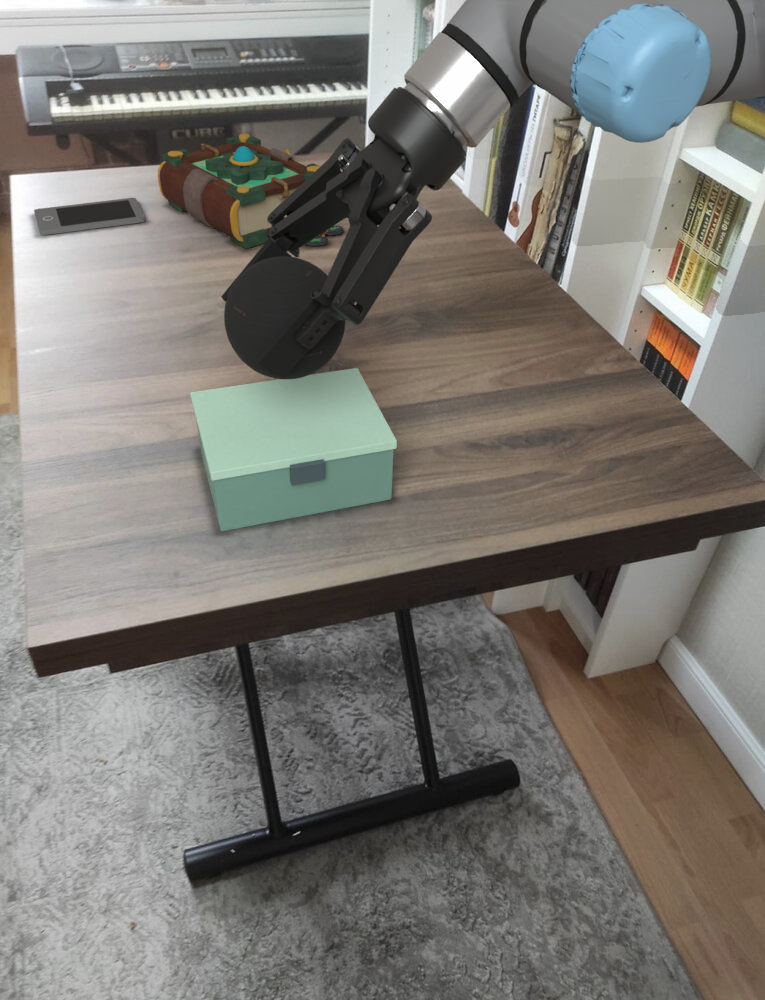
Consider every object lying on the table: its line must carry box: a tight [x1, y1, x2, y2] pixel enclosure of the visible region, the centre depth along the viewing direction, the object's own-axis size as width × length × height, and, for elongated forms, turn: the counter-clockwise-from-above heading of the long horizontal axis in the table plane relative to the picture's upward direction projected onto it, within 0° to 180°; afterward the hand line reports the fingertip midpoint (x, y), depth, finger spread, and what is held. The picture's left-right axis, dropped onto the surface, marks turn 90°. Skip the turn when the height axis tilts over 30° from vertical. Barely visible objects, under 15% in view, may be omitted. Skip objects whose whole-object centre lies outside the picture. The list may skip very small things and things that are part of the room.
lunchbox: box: [189, 367, 398, 532], centre depth 78 cm, size 16×13×7 cm
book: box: [157, 133, 344, 249], centre depth 123 cm, size 27×21×10 cm
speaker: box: [223, 256, 346, 380], centre depth 69 cm, size 10×10×10 cm
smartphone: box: [33, 197, 146, 236], centre depth 124 cm, size 15×8×1 cm, turn 113°
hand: (251, 336), depth 69 cm, fingers closed on speaker, 10 cm apart
